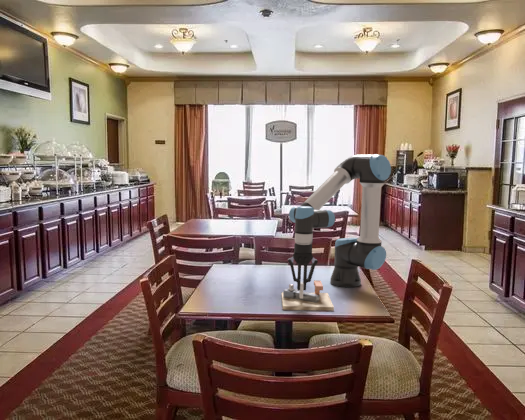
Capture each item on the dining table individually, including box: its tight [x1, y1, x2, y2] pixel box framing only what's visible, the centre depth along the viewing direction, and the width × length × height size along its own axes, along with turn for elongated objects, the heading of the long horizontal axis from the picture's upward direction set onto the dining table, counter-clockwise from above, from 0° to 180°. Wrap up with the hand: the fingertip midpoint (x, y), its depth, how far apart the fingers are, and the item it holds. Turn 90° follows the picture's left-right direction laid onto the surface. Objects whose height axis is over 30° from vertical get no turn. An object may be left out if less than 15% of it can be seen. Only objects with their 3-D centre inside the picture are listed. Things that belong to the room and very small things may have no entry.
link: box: [282, 287, 320, 303], centre depth 201 cm, size 16×5×3 cm, turn 58°
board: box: [281, 291, 335, 311], centre depth 201 cm, size 21×20×2 cm
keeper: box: [313, 280, 324, 295], centre depth 205 cm, size 3×10×6 cm, turn 179°
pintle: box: [288, 283, 295, 291], centre depth 204 cm, size 5×5×6 cm
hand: (301, 297), depth 198 cm, fingers closed
